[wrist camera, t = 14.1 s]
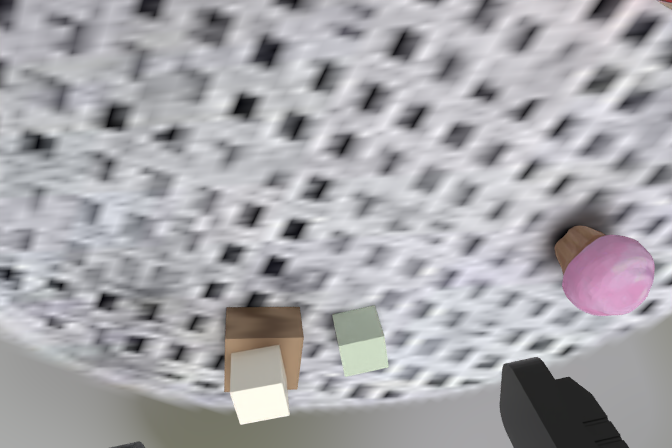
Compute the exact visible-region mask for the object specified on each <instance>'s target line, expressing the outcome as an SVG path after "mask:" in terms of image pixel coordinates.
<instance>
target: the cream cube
mask: <svg viewBox="0 0 672 448" xmlns="http://www.w3.org/2000/svg"><path fill="white" fill-rule="evenodd" d="M230 394H231V397H232V400H233V403H234V407H235V410H236V413H237V415H238V419H239V422H240V424H246V423H252V422H257V421H262V420H267V419H273V418H278V417H283V416H288V415H290V414H289V403H288V391H287V379H286V373H285V369H284V364H283V360H282V355H281V351H280V347H279V345H275V346H270V347H264V348H258V349H253V350H247V351H242V352H236V353H231V375H230Z"/></svg>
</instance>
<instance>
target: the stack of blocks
mask: <svg viewBox="0 0 672 448" xmlns="http://www.w3.org/2000/svg"><path fill="white" fill-rule="evenodd" d="M657 1H658V2H660V3H662V4H663V5H665V6H667V7H668V8H670V9H672V0H657Z"/></svg>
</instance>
